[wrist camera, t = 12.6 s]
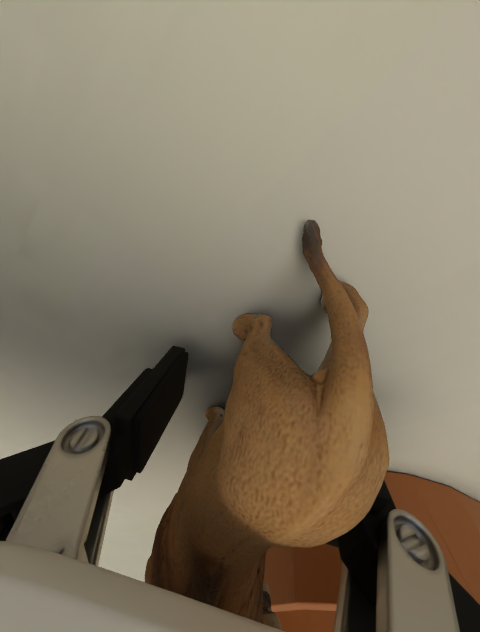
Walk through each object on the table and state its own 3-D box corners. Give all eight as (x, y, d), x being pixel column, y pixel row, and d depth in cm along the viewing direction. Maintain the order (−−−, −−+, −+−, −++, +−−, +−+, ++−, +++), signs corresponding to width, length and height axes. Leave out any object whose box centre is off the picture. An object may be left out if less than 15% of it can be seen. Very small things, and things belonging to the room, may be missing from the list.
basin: (224, 551, 19) (209, 650, 15) (278, 435, 12) (279, 562, 8) (410, 613, 18) (453, 739, 14) (591, 528, 11) (808, 738, 7)
